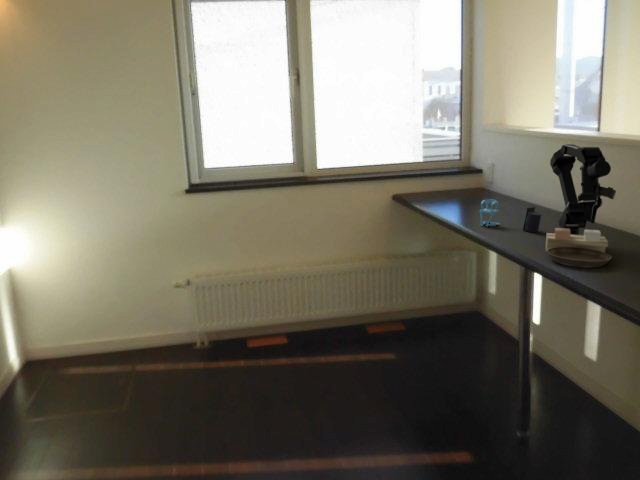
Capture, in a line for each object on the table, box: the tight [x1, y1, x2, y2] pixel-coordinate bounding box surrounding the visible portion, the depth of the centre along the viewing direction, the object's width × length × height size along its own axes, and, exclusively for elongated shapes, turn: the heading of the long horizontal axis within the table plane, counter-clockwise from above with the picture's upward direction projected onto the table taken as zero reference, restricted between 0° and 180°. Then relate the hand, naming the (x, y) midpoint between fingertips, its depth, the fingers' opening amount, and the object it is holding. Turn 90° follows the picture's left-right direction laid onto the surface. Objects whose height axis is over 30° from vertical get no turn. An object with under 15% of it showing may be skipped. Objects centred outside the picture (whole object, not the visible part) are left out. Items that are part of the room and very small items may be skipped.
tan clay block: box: [554, 227, 571, 239], centre depth 218 cm, size 5×5×3 cm
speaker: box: [522, 206, 542, 233], centre depth 258 cm, size 8×6×10 cm
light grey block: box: [583, 228, 602, 241], centre depth 215 cm, size 5×5×3 cm
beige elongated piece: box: [545, 232, 609, 253], centre depth 219 cm, size 11×20×6 cm, turn 72°
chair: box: [478, 198, 501, 228], centre depth 271 cm, size 8×8×12 cm
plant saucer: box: [546, 247, 612, 269], centre depth 207 cm, size 21×21×3 cm
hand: (591, 222), depth 219 cm, fingers open, 9 cm apart
